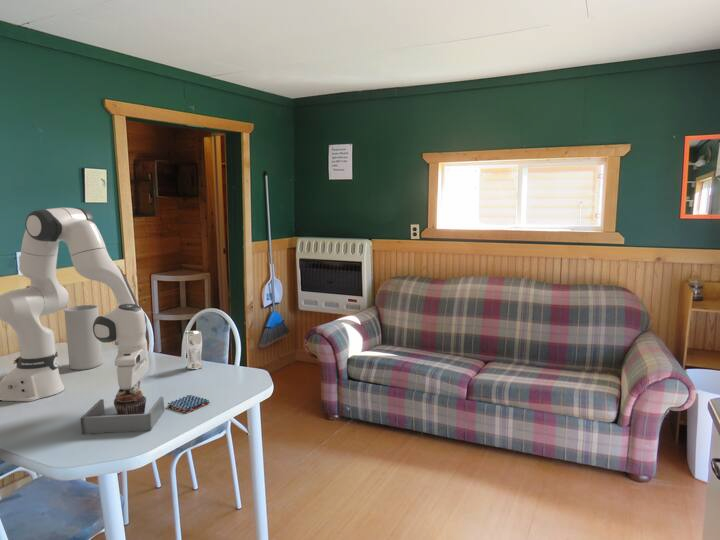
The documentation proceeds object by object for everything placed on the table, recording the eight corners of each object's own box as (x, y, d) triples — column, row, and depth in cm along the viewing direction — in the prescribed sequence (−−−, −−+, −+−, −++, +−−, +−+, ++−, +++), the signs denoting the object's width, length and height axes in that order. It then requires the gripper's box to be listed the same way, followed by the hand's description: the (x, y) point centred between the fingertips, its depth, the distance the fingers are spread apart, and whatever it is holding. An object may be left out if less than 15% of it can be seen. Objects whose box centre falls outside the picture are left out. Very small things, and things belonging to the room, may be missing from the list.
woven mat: (186, 415, 173) (186, 409, 173) (165, 408, 179) (165, 403, 178) (211, 404, 182) (211, 399, 181) (190, 398, 187) (190, 393, 187)
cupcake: (148, 417, 171) (146, 387, 169) (115, 423, 167) (112, 392, 165) (146, 406, 179) (144, 378, 178) (114, 412, 175) (112, 383, 174)
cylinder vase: (108, 364, 228) (104, 306, 224) (80, 372, 217) (74, 312, 214) (91, 359, 235) (87, 304, 231) (63, 367, 224) (58, 309, 221)
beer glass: (198, 370, 217) (196, 334, 215) (182, 369, 218) (180, 334, 216) (206, 365, 224) (204, 330, 222) (191, 364, 225) (189, 330, 223)
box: (81, 434, 159) (80, 418, 158) (101, 414, 174) (100, 399, 173) (150, 430, 161) (149, 414, 160) (164, 411, 176) (163, 396, 175)
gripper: (133, 344, 186) (136, 383, 188) (112, 362, 166) (115, 405, 168) (152, 344, 187) (154, 382, 189) (133, 361, 167) (136, 404, 168)
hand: (136, 393), depth 178 cm, fingers closed
